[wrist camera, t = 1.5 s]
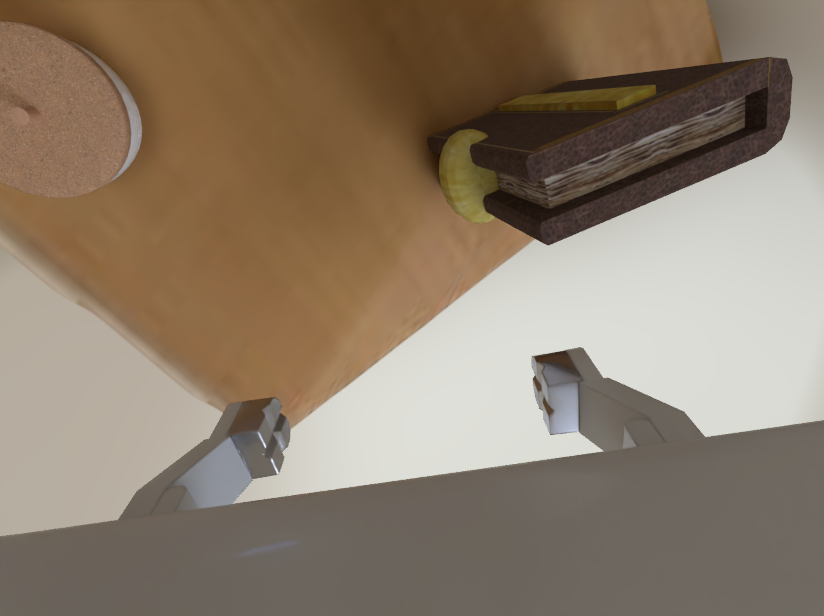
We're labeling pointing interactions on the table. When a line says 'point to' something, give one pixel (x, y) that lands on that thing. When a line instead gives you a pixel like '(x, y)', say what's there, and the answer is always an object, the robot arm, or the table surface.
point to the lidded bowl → (61, 115)
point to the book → (610, 144)
